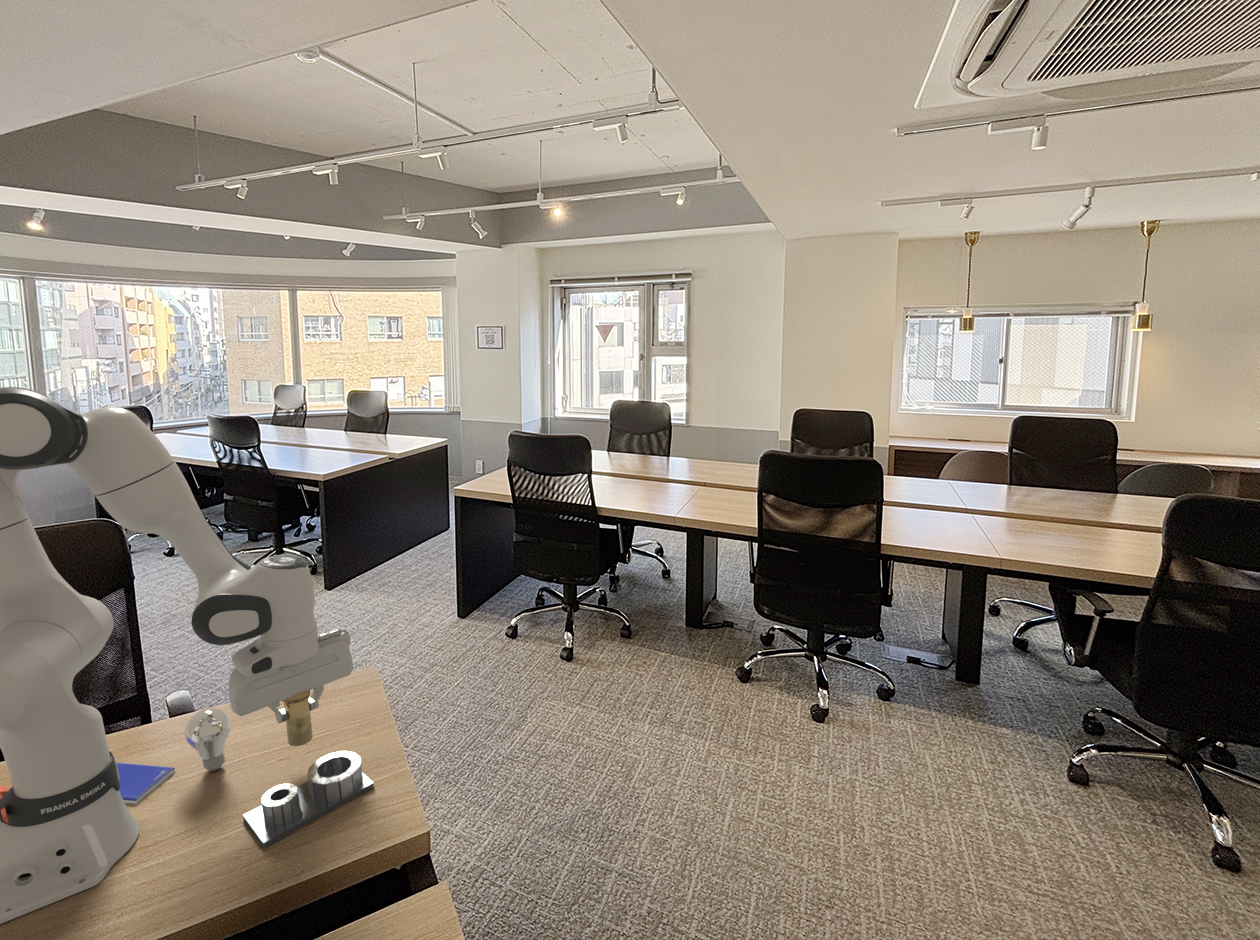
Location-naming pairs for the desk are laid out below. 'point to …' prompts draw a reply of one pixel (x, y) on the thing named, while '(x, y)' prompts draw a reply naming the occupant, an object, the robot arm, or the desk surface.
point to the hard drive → (140, 780)
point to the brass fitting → (298, 719)
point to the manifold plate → (308, 797)
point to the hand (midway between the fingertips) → (297, 714)
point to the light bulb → (209, 736)
